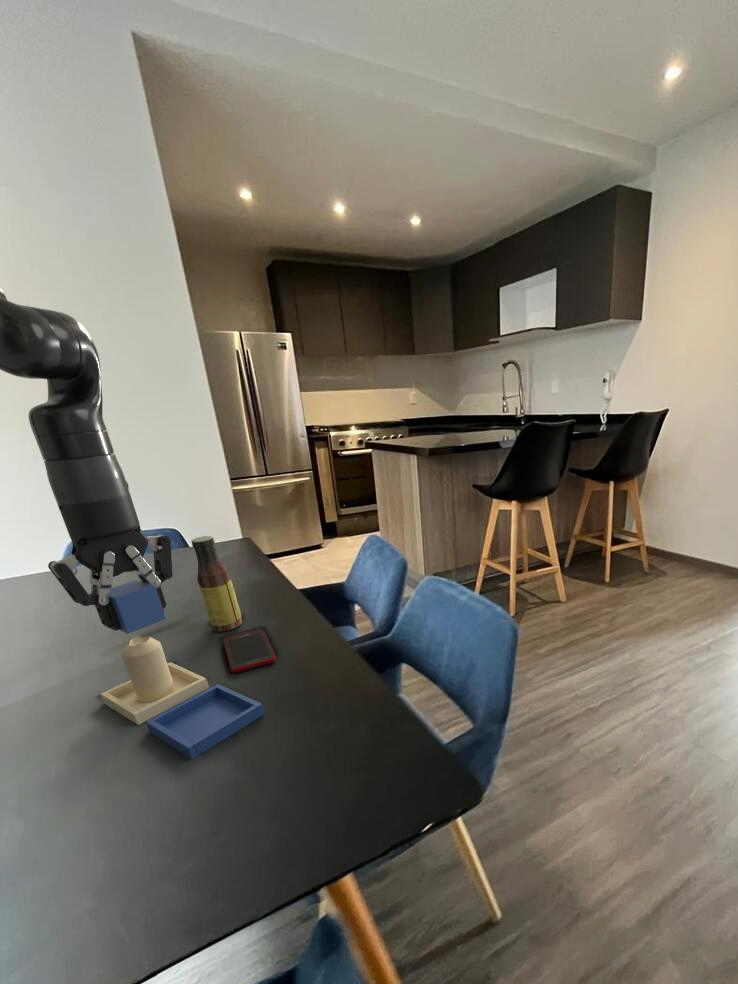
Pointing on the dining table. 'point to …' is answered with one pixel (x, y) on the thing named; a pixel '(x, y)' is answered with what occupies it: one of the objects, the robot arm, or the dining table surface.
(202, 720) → the blue tray
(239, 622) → the sauce bottle
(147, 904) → the dining table surface
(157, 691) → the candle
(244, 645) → the cell phone
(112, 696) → the ivory tray
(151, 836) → the dining table surface
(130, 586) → the blue block
